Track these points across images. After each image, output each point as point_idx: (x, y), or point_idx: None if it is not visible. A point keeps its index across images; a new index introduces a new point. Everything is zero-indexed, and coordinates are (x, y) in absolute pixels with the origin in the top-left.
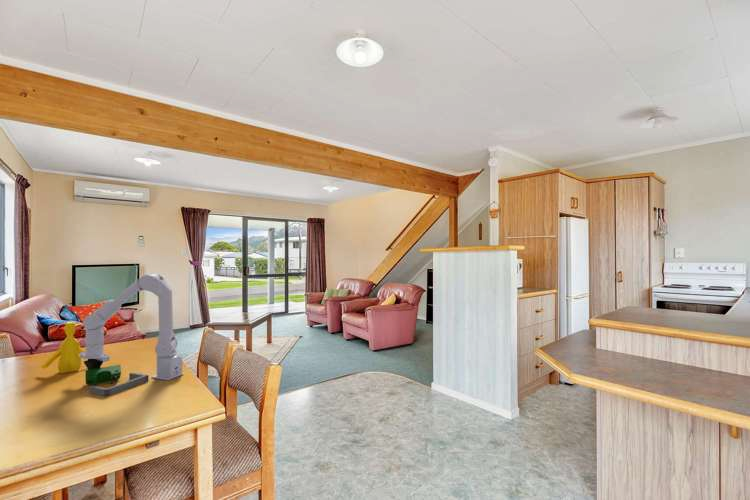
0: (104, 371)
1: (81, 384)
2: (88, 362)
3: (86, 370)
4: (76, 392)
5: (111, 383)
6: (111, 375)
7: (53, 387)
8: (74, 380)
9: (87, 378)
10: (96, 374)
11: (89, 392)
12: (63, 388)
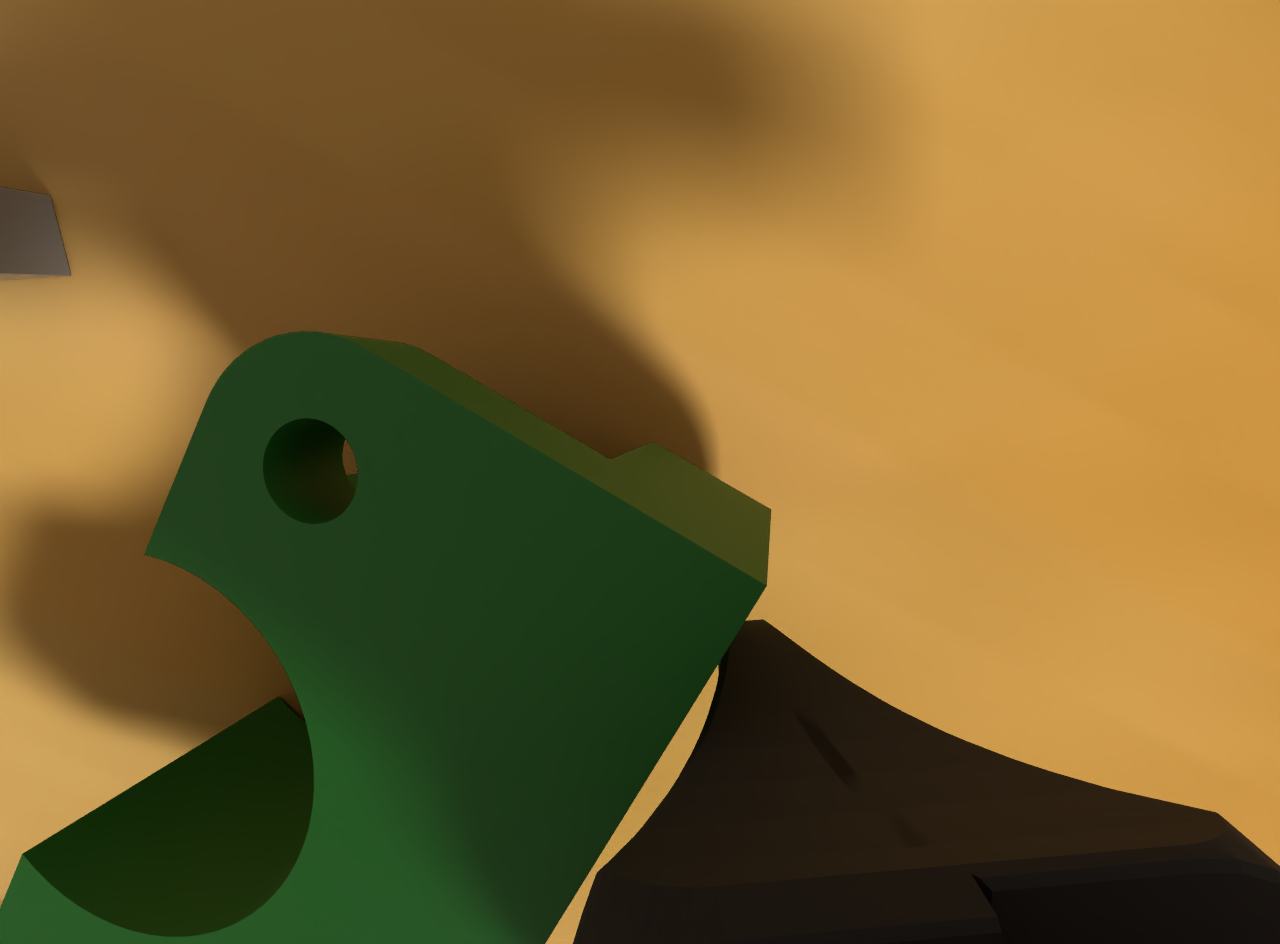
0: (302, 864)
1: (840, 447)
2: (763, 910)
3: (722, 590)
4: (400, 111)
5: (265, 714)
6: (74, 832)
7: (1255, 77)
8: (1227, 517)
9: (267, 347)
10: (262, 626)
11: (22, 194)
12: (965, 137)
